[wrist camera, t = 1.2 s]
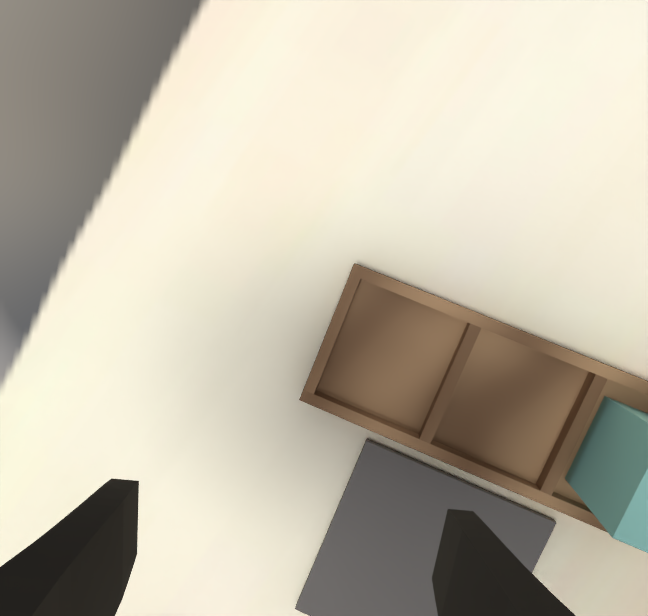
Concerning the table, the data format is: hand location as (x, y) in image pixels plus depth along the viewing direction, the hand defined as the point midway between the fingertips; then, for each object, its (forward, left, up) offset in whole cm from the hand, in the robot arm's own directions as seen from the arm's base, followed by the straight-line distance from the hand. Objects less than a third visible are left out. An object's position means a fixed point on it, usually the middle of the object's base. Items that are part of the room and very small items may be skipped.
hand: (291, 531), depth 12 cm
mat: (-6, +6, -12) cm, 15 cm away
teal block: (-12, -3, -12) cm, 17 cm away
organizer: (-7, -3, -12) cm, 14 cm away
